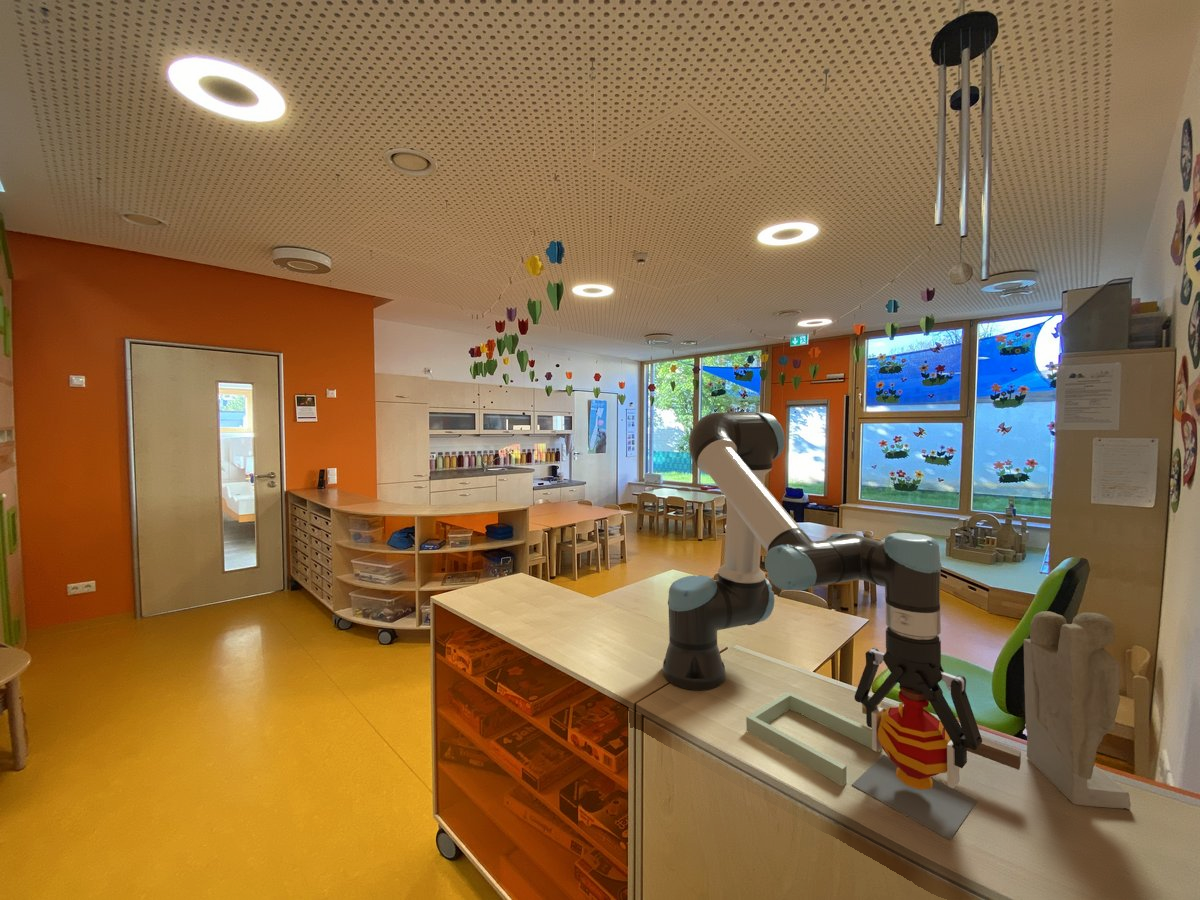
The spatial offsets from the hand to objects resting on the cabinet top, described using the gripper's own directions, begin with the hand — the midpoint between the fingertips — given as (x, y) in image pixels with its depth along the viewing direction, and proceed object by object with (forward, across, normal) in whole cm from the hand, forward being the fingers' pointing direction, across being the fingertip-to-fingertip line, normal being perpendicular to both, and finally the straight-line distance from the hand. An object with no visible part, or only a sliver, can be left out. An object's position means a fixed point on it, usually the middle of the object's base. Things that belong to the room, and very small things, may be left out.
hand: (913, 764), depth 79 cm
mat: (+5, 0, 0) cm, 5 cm away
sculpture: (+5, +16, +22) cm, 28 cm away
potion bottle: (+3, 0, 0) cm, 3 cm away
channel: (+5, -17, 0) cm, 18 cm away
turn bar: (0, -1, +11) cm, 11 cm away
